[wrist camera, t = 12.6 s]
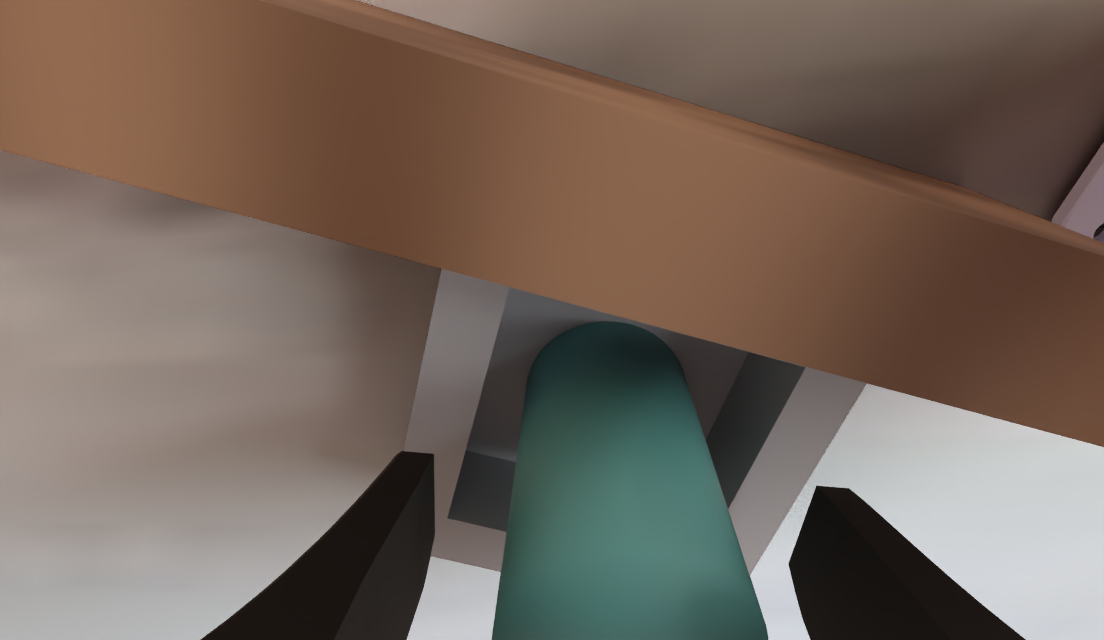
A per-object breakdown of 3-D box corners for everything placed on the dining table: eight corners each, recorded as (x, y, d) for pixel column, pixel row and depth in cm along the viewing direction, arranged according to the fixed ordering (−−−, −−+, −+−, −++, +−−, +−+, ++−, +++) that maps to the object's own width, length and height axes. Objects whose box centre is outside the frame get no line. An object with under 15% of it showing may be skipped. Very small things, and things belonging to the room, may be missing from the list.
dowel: (713, 411, 15) (814, 681, 9) (583, 478, 16) (588, 762, 10) (632, 291, 14) (681, 507, 7) (494, 373, 15) (435, 623, 8)
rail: (964, 188, 13) (1245, 298, 8) (904, 288, 14) (1112, 449, 9) (-105, -142, 11) (-766, -310, 6) (-79, 6, 12) (-613, -16, 7)
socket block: (828, 263, 14) (900, 327, 11) (695, 518, 18) (722, 621, 15) (483, 163, 14) (455, 202, 10) (418, 451, 17) (383, 545, 14)
